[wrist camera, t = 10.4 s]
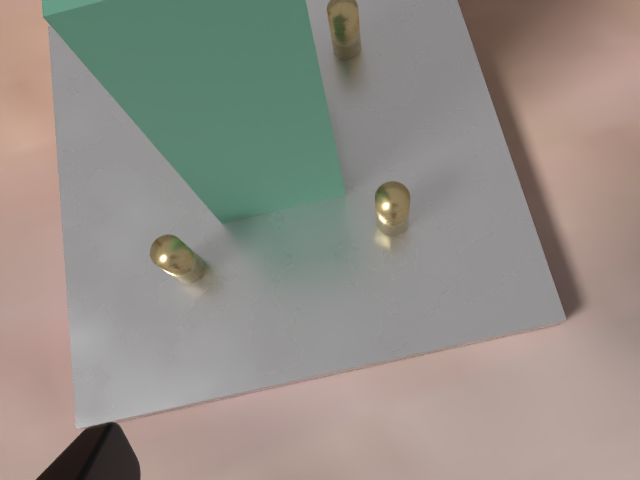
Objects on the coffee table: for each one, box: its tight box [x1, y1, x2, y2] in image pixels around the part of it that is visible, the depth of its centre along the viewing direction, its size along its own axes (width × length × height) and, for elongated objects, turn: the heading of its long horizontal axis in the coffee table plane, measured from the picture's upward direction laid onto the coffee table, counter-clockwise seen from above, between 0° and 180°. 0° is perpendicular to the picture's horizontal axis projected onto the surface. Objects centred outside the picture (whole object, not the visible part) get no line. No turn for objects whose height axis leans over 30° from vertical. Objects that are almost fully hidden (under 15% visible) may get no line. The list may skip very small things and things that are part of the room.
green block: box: [42, 0, 346, 224], centre depth 18 cm, size 5×5×12 cm
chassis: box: [48, 0, 567, 429], centre depth 23 cm, size 18×18×4 cm
